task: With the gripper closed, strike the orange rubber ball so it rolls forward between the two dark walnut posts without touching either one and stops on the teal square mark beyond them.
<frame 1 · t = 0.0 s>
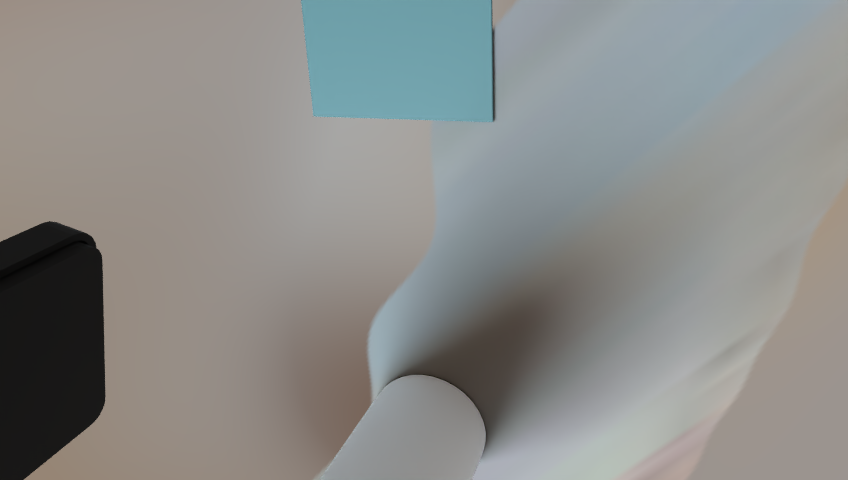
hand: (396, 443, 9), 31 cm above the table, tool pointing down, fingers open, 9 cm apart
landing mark: (394, 18, 39), on the table
bottle: (430, 422, 49), on the table
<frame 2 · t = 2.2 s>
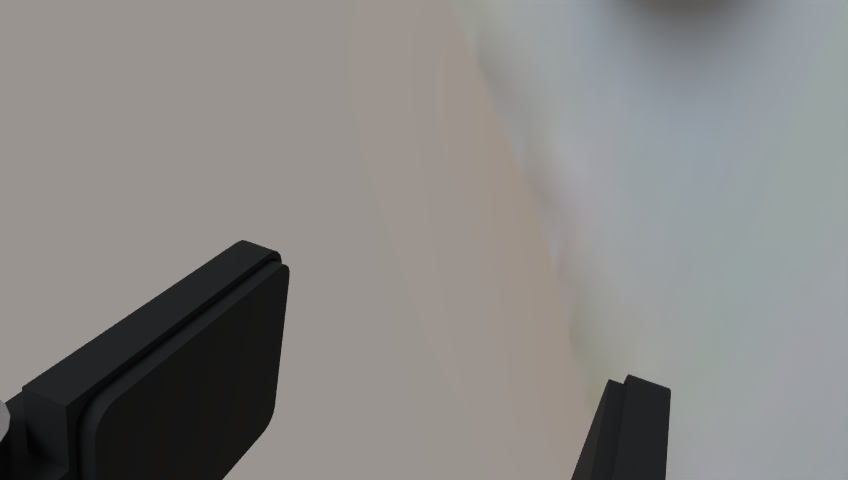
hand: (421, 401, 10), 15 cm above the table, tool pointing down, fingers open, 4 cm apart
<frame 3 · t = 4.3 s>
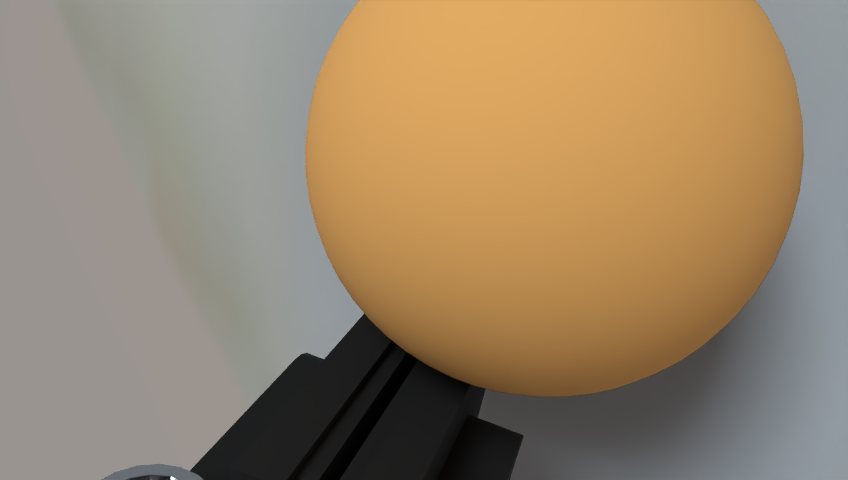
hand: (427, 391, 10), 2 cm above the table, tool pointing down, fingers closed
ball: (540, 159, 8), on the table, touching gripper
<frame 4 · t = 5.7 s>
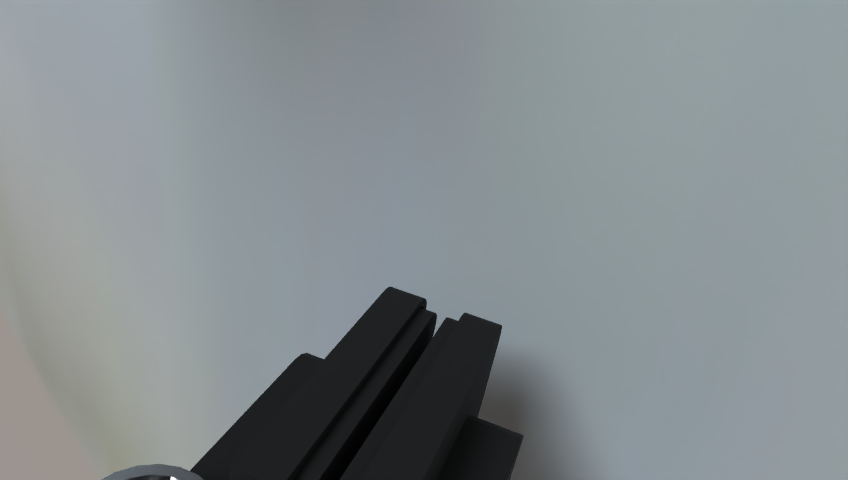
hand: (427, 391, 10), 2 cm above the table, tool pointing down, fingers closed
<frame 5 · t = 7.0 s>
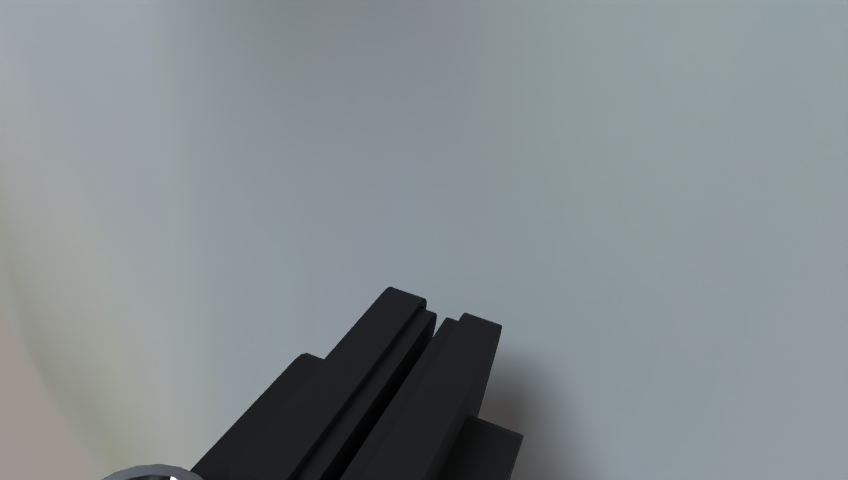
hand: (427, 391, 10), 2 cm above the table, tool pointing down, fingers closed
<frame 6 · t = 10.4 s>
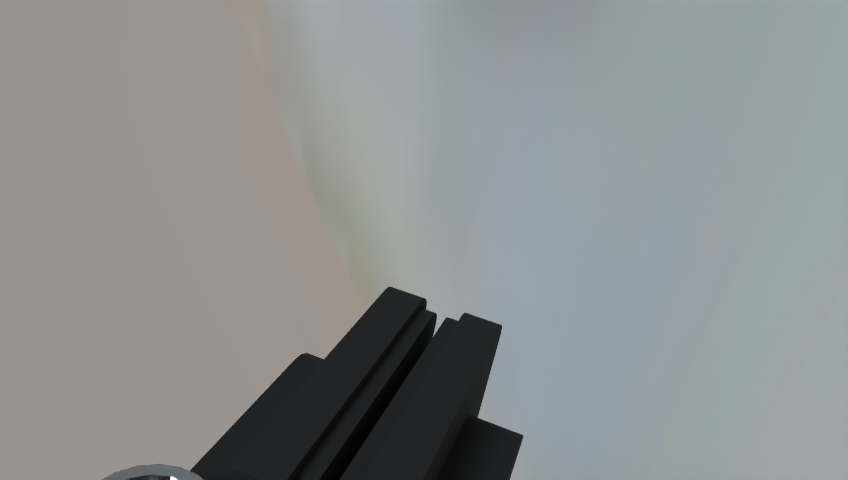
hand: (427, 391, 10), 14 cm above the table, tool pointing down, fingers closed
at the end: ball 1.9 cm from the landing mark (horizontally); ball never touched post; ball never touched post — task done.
